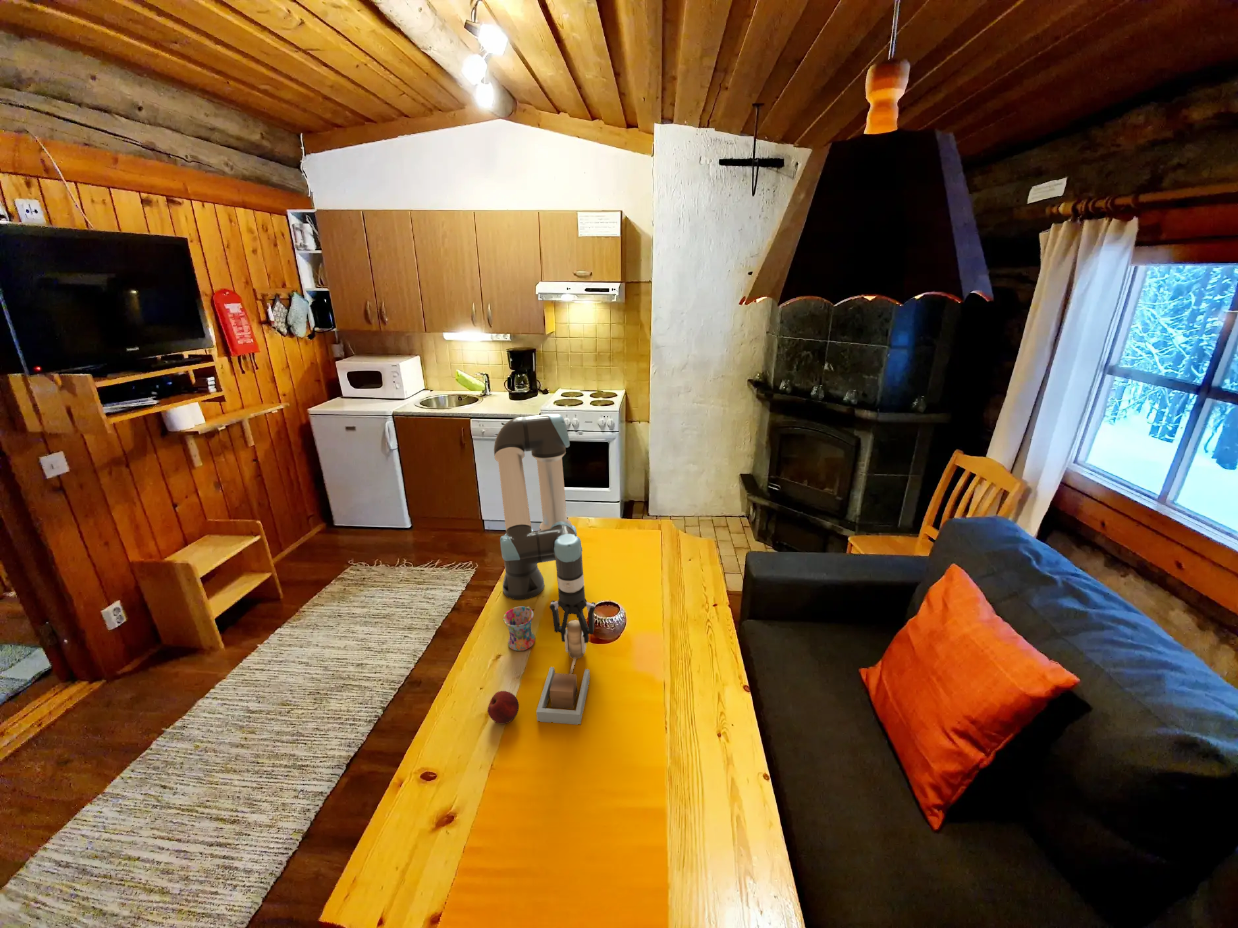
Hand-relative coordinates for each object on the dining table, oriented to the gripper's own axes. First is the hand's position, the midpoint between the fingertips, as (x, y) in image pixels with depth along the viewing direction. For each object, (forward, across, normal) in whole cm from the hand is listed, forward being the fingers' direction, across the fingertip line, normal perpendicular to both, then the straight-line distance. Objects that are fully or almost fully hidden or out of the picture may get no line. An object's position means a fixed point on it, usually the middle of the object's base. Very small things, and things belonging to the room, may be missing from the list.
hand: (576, 649), depth 148 cm
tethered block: (+2, 0, -9) cm, 9 cm away
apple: (+2, -14, -24) cm, 28 cm away
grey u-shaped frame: (+2, 0, -16) cm, 16 cm away
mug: (+2, -18, +5) cm, 19 cm away
